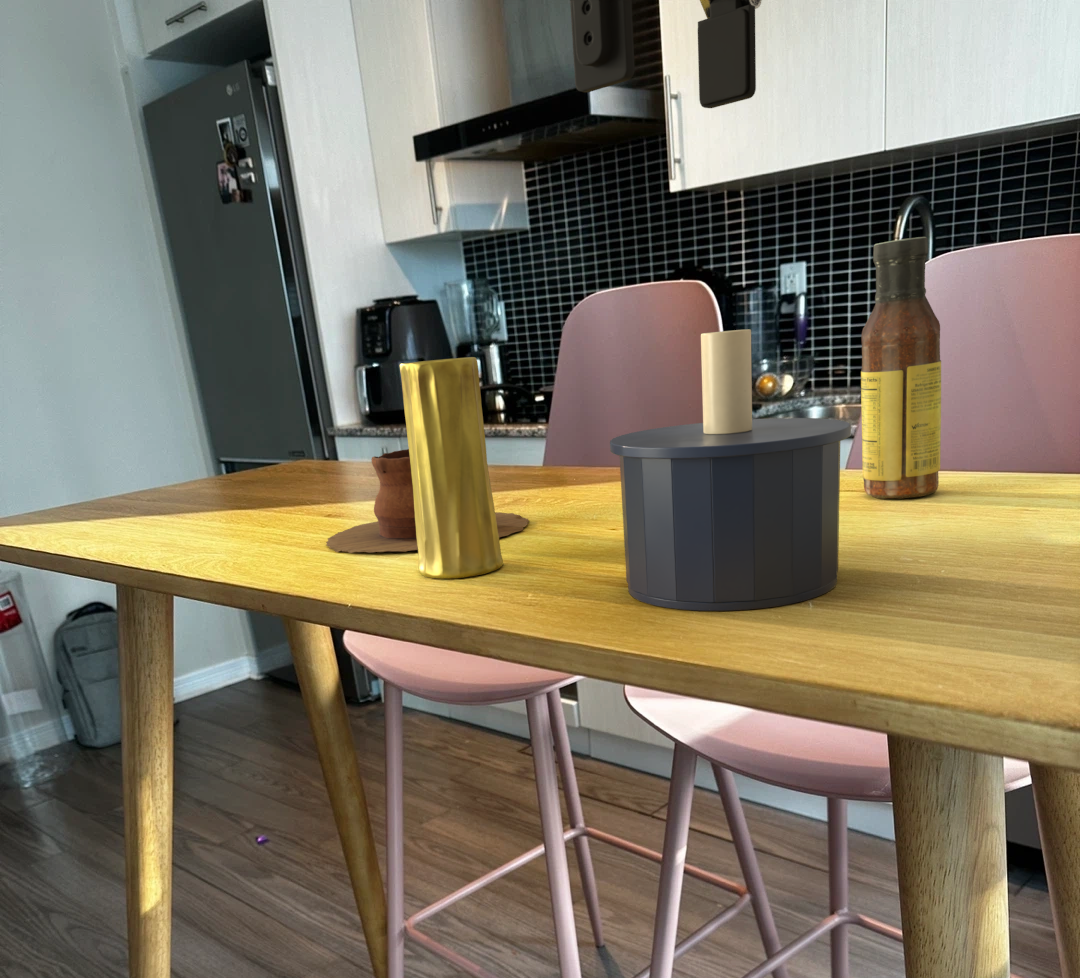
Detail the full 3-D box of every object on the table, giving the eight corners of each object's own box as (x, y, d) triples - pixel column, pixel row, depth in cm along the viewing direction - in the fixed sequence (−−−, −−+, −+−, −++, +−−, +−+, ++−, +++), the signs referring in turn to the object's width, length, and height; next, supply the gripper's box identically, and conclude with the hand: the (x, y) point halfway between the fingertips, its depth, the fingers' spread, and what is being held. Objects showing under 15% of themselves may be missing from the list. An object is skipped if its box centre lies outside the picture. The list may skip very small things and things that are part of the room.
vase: (484, 579, 70) (461, 359, 65) (404, 579, 72) (376, 366, 67) (515, 559, 76) (496, 354, 71) (439, 560, 78) (415, 361, 73)
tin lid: (761, 433, 69) (760, 326, 66) (903, 445, 57) (908, 315, 54) (573, 458, 64) (565, 345, 62) (683, 478, 52) (678, 338, 50)
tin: (759, 552, 71) (758, 425, 68) (883, 586, 60) (888, 435, 57) (594, 582, 67) (585, 448, 64) (693, 624, 56) (688, 463, 53)
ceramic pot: (505, 549, 80) (496, 456, 77) (292, 559, 83) (277, 471, 81) (545, 509, 96) (539, 431, 94) (366, 519, 100) (355, 444, 97)
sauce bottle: (936, 487, 89) (948, 236, 82) (942, 499, 84) (955, 231, 77) (857, 490, 91) (863, 245, 84) (858, 502, 86) (864, 241, 79)
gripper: (584, -495, 37) (612, 57, 43) (833, -327, 48) (828, 93, 54) (449, -383, 42) (491, 96, 48) (703, -254, 53) (711, 122, 59)
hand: (669, 94), depth 51 cm, fingers open, 9 cm apart
